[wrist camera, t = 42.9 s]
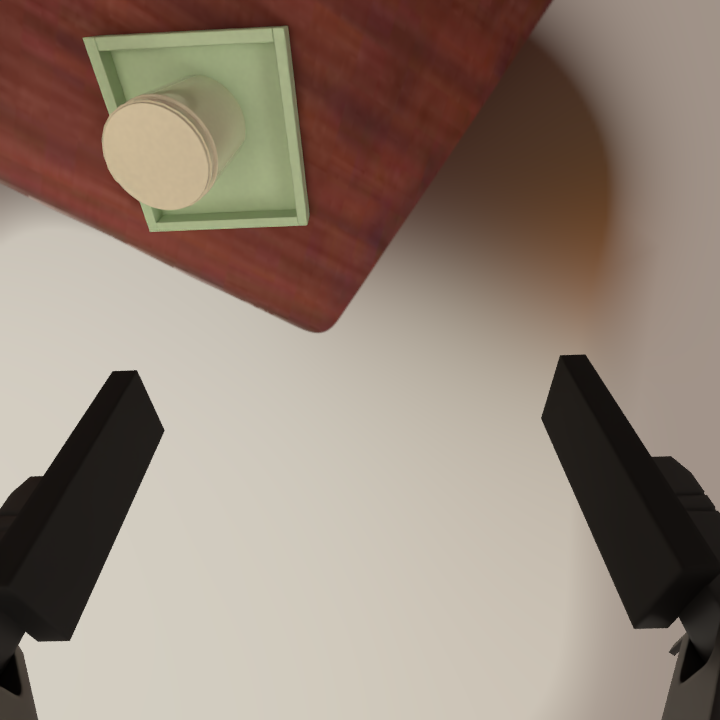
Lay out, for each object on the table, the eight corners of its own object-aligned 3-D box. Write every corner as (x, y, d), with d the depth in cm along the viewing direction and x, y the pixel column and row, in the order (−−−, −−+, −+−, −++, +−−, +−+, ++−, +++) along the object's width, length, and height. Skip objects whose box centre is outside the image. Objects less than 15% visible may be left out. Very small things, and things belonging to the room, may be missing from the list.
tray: (288, 25, 32) (283, 26, 30) (309, 215, 40) (307, 225, 38) (97, 35, 32) (81, 37, 30) (159, 221, 40) (149, 232, 38)
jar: (222, 61, 32) (175, 82, 24) (259, 152, 36) (230, 197, 28) (144, 90, 34) (74, 119, 25) (188, 175, 37) (140, 225, 29)
